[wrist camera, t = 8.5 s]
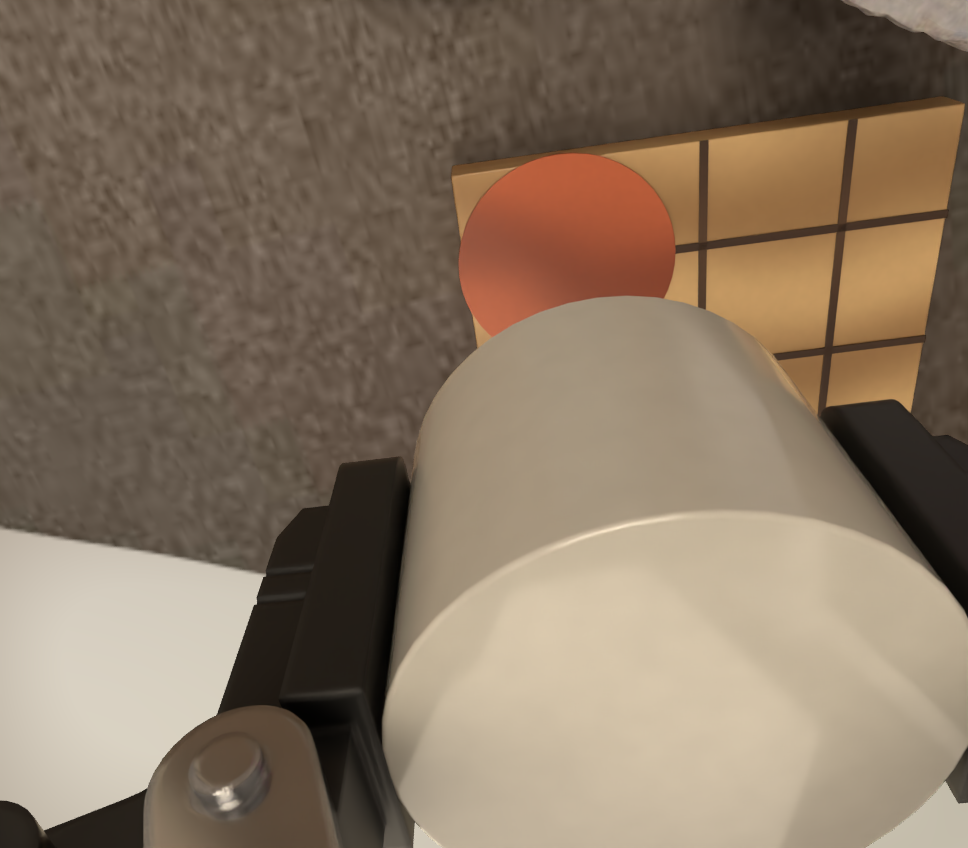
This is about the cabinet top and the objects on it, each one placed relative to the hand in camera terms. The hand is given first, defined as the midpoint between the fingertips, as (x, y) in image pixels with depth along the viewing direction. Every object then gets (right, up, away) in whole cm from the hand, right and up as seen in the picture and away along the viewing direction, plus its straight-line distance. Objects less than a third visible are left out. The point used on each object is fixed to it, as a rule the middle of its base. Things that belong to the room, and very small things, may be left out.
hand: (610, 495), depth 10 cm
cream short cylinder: (0, 0, 0) cm, 0 cm away
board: (+5, +3, +16) cm, 18 cm away
